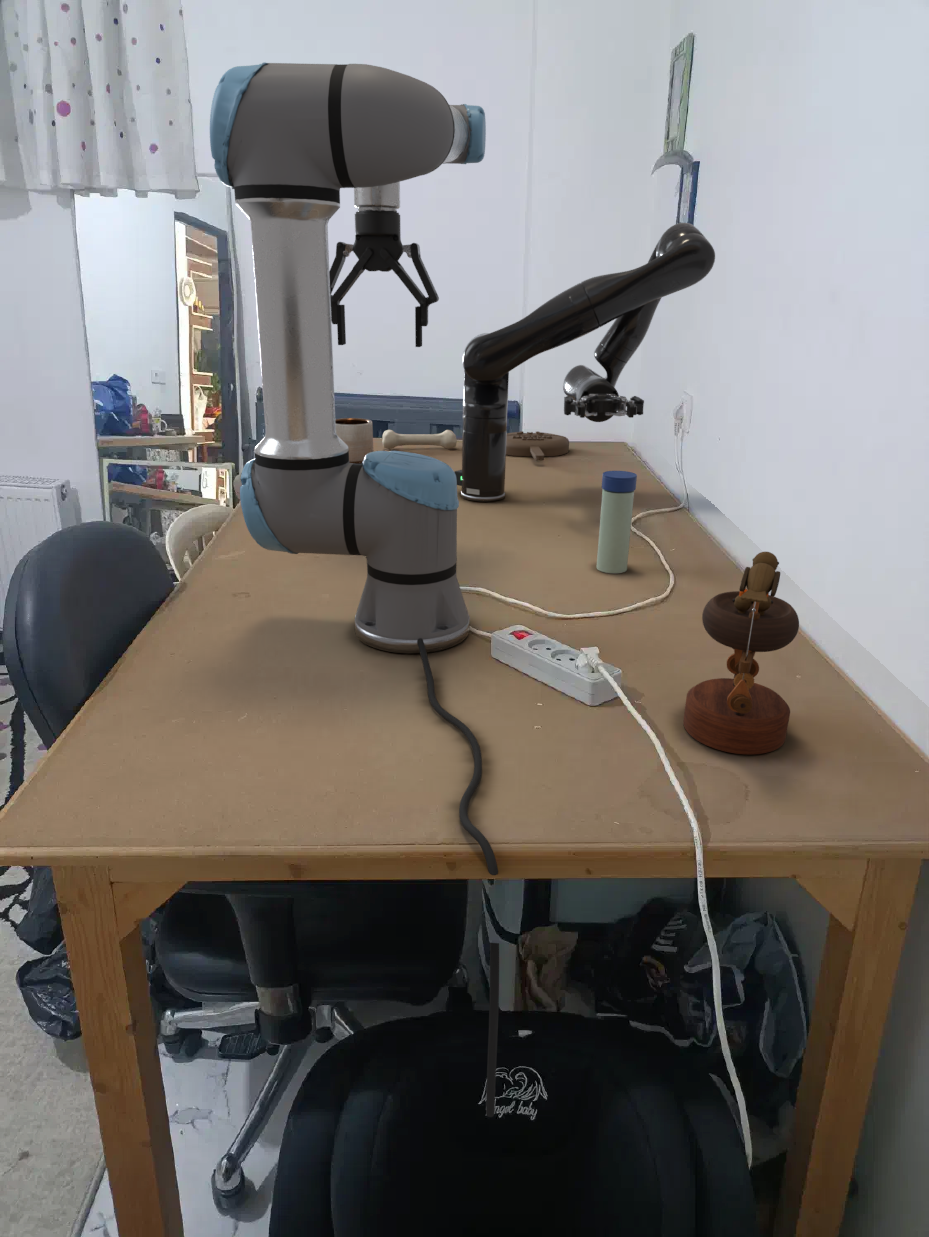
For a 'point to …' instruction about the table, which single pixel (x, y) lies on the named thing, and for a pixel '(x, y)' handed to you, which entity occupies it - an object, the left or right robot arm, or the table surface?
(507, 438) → the ice cream bar
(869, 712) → the table surface
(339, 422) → the planter
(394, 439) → the dog toy
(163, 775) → the table surface
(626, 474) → the lid
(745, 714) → the music box
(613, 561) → the green bottle
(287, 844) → the table surface
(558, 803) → the table surface
